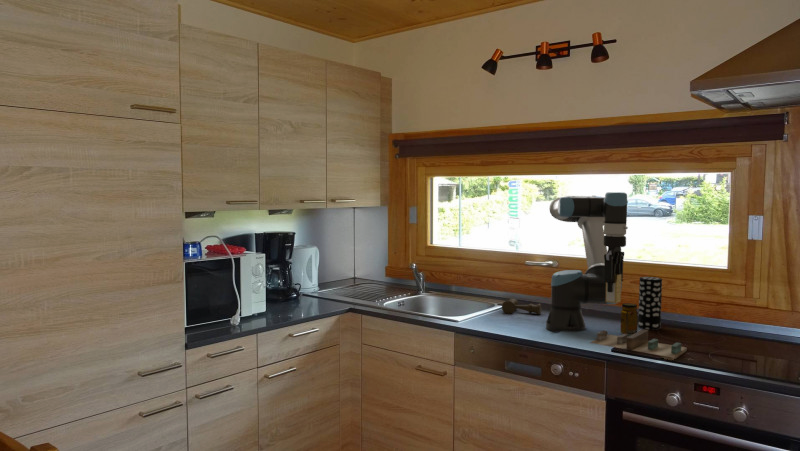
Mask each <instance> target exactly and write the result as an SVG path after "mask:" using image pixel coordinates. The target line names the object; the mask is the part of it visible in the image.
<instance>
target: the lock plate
mask: <svg viewBox="0 0 800 451" xmlns="http://www.w3.org/2000/svg"><path fill="white" fill-rule="evenodd" d="M589 343H590V344H595V345H601V346H607V347H611V348H617V349H622V350H629V351H633V352H634V351H635V352H639V353H645V354H651V355H655V356H656V355H657V356H660V359H661V358H664V359H663V360H667V359H668V361H672V360H673V361H674V359H675V360H676V359H677V358H679V357H680V356H681V355H683V354H684V353H686V352H687V350H688V348H687V347H685V346H682V343H681V342H675V343H673V344H667V343H661V342H659V339H658V338H652V339H651V340H649V329H643V328H641V329H640V330H639V331H637V333H635V334H630V335H629V334H624V333H622V334H620V335H614V334H608V330H601V331H599V332H597V333H596V339H594V340H591V341H590V342H589Z"/></svg>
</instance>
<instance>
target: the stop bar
mask: <svg viewBox="0 0 800 451" xmlns="http://www.w3.org/2000/svg"><path fill="white" fill-rule="evenodd" d="M614 283H615V301H605V302H612V303H616V304H618V303H621V301H622V297H621V296H622V290H621V274H616V273H615V279H614ZM606 300H607V283H606Z"/></svg>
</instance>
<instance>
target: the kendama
mask: <svg viewBox="0 0 800 451" xmlns="http://www.w3.org/2000/svg"><path fill="white" fill-rule="evenodd" d="M496 305H497V306H501V310H502V311H503V313H505V314H508V315H509V314H510V315H511V314H513V313H514V312H515V311H516V310H518V309H519V310H523V311H526V312H528V313H529V314H531V313H534V314H537V315H539V316H540V315H541V313H542V304H541V303H537V304H533V303H529V304H519V301H518V299H516V298H509V299H507V300H505V301H503V303H497V304H496Z"/></svg>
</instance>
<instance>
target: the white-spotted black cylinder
mask: <svg viewBox="0 0 800 451" xmlns="http://www.w3.org/2000/svg"><path fill="white" fill-rule="evenodd" d="M638 288H639V289H638V291H639V292H638V326H637V328H638V327H639V328H640V329H644V330H650V331H654V330H655V331H656V330H661V322H662V320H661V319H662V294H663V293H662V291H663V278H660V277H655V276H640V277H639V287H638Z"/></svg>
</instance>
